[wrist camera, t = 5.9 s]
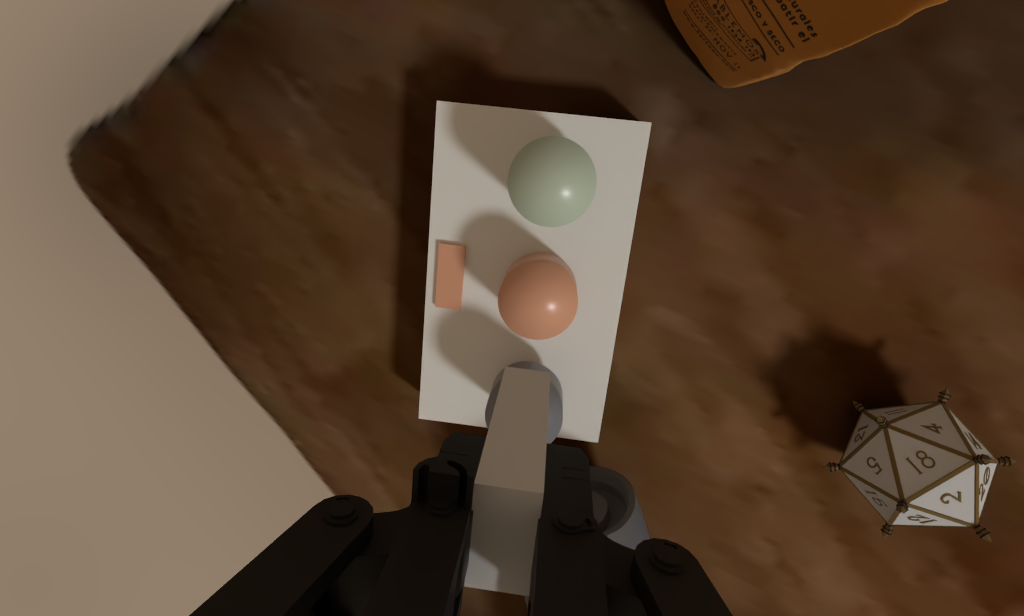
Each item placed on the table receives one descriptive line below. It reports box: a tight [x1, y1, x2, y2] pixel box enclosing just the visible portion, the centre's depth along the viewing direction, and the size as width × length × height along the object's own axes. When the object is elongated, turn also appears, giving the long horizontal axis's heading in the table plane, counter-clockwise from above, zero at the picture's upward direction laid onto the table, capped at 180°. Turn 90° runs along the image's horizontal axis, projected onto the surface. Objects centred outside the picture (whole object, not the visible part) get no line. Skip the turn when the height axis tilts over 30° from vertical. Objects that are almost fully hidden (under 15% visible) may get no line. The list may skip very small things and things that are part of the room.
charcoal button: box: [485, 361, 563, 444], centre depth 32 cm, size 4×4×3 cm
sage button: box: [507, 136, 597, 227], centre depth 28 cm, size 4×4×3 cm
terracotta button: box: [498, 252, 578, 340], centre depth 31 cm, size 4×4×3 cm
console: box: [419, 101, 651, 443], centre depth 34 cm, size 20×12×3 cm, turn 174°
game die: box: [824, 388, 1016, 542], centre depth 33 cm, size 9×8×10 cm
